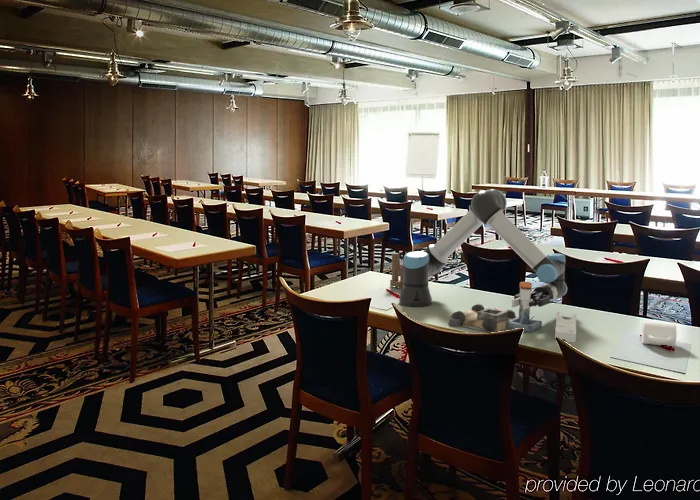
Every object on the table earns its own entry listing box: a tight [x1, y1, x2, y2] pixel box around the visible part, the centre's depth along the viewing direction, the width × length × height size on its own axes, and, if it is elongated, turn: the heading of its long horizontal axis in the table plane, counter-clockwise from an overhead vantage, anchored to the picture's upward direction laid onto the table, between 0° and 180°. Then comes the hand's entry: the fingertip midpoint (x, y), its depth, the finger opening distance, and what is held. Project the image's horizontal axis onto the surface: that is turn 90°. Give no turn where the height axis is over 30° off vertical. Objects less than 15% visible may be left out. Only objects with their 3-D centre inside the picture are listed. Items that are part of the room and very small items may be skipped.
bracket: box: [554, 311, 578, 343], centre depth 203 cm, size 13×7×8 cm, turn 158°
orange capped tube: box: [518, 281, 533, 325], centre depth 213 cm, size 4×4×16 cm
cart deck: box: [450, 303, 517, 332], centre depth 221 cm, size 20×18×6 cm
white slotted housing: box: [641, 320, 677, 348], centre depth 191 cm, size 12×10×8 cm
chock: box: [448, 317, 462, 327], centre depth 218 cm, size 4×2×2 cm, turn 47°
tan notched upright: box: [389, 252, 403, 289], centre depth 284 cm, size 4×11×18 cm, turn 41°
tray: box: [505, 316, 543, 334], centre depth 214 cm, size 10×10×2 cm
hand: (518, 304), depth 209 cm, fingers closed on orange capped tube, 4 cm apart
